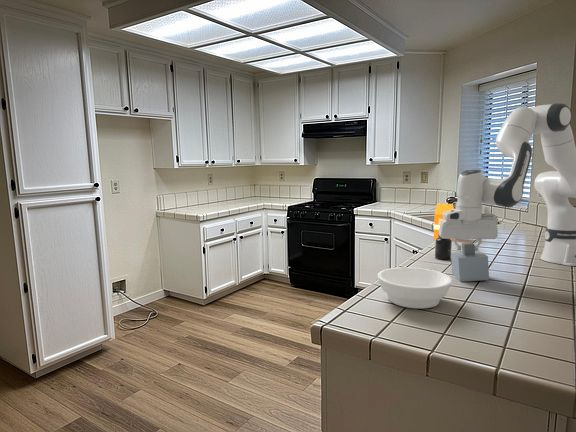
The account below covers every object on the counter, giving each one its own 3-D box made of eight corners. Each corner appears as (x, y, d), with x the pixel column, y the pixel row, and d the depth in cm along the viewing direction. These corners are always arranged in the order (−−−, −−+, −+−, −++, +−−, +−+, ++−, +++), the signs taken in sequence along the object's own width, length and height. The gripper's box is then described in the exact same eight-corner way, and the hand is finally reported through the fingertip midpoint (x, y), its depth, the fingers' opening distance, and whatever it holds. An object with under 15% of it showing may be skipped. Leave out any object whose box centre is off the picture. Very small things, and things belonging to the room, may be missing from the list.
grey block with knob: (479, 272, 154) (477, 239, 153) (489, 279, 144) (487, 245, 143) (452, 273, 156) (450, 242, 154) (459, 281, 146) (457, 247, 144)
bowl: (443, 321, 111) (444, 292, 110) (366, 306, 123) (367, 280, 121) (457, 297, 130) (458, 272, 129) (389, 286, 142) (390, 264, 140)
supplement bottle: (452, 260, 176) (453, 234, 174) (436, 260, 177) (437, 233, 176) (449, 257, 183) (450, 231, 181) (433, 256, 184) (434, 231, 182)
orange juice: (437, 237, 229) (438, 203, 226) (453, 238, 224) (455, 203, 221) (433, 239, 222) (434, 204, 220) (449, 241, 217) (451, 205, 215)
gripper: (495, 212, 149) (493, 248, 151) (438, 212, 151) (437, 248, 153) (501, 215, 142) (499, 252, 144) (442, 214, 145) (441, 251, 147)
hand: (466, 250), depth 149 cm, fingers open, 5 cm apart
